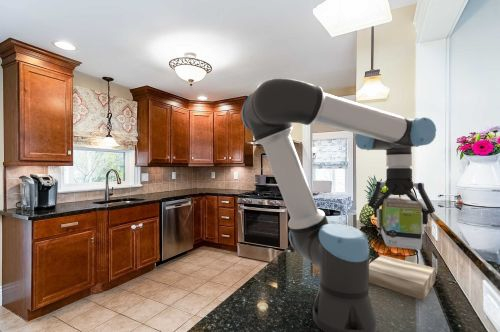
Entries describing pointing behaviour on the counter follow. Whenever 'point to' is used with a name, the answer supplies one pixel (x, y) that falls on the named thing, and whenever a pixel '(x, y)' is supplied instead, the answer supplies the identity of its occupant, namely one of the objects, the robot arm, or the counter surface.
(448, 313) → the counter surface
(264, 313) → the counter surface
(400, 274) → the birch base block
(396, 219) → the tea box
